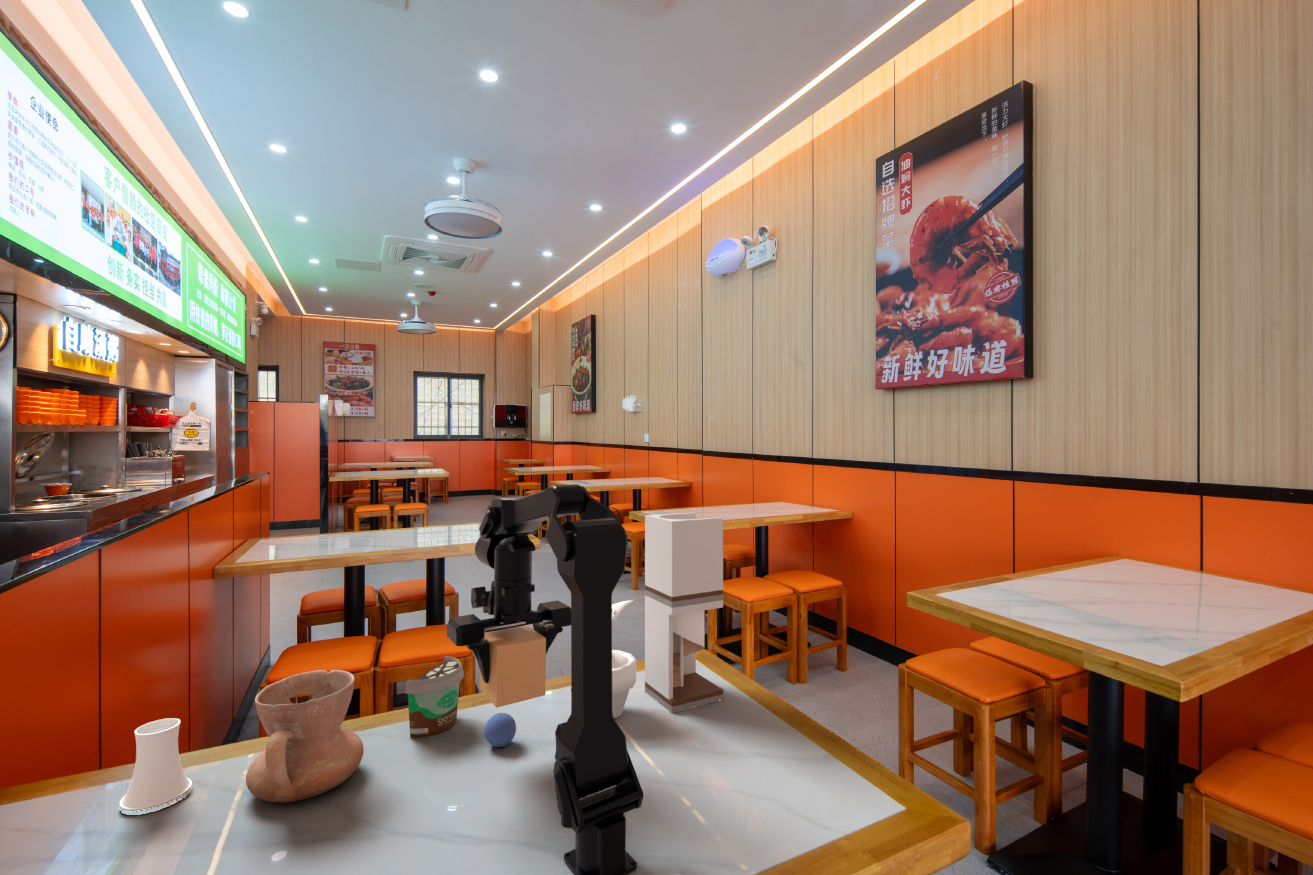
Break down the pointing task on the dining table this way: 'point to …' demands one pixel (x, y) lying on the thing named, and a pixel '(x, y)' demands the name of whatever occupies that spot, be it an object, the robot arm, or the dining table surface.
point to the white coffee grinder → (680, 605)
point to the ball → (500, 729)
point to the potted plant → (621, 669)
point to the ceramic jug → (304, 737)
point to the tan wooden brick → (515, 665)
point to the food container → (434, 699)
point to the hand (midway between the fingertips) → (511, 676)
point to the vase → (156, 767)
